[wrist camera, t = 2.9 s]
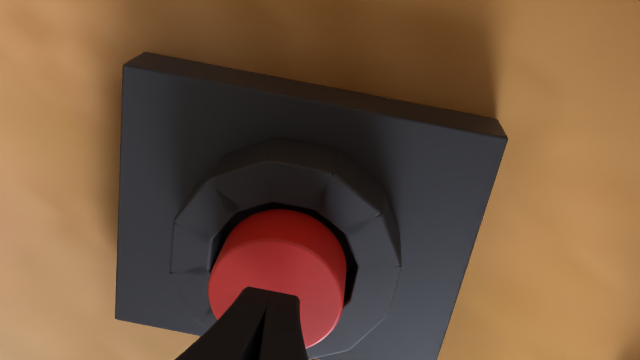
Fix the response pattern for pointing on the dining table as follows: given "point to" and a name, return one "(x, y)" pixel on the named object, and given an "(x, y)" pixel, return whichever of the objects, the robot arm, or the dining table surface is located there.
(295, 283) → the button
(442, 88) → the dining table surface
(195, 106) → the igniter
